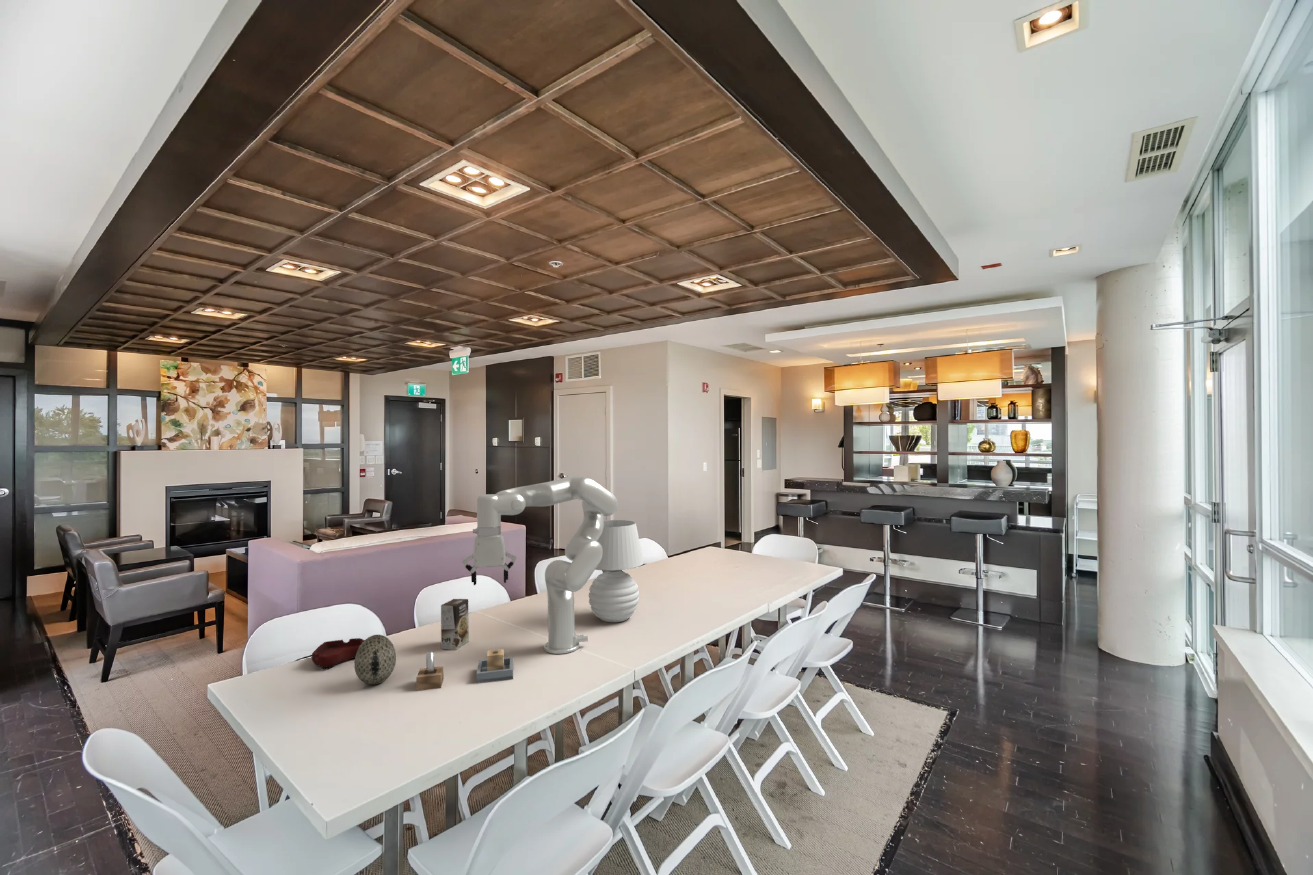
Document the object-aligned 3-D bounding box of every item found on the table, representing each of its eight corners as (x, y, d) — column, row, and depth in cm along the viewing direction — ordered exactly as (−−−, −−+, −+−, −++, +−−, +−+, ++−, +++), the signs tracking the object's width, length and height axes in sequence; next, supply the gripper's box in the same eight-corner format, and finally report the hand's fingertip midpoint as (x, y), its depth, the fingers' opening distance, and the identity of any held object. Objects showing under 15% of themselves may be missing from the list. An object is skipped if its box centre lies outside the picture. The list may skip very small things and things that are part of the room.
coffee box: (456, 650, 208) (456, 605, 208) (440, 649, 209) (439, 604, 209) (469, 641, 217) (469, 598, 217) (454, 640, 218) (453, 597, 218)
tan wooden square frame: (443, 678, 183) (443, 666, 183) (440, 687, 176) (440, 674, 176) (420, 681, 182) (420, 668, 182) (416, 690, 175) (416, 677, 175)
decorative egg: (356, 679, 184) (355, 632, 184) (396, 672, 188) (395, 627, 188) (353, 694, 173) (352, 644, 173) (395, 686, 178) (394, 638, 178)
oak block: (504, 667, 189) (503, 648, 189) (503, 673, 184) (503, 654, 184) (488, 668, 188) (487, 650, 188) (487, 674, 183) (486, 655, 183)
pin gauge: (434, 682, 180) (434, 650, 180) (433, 685, 178) (433, 653, 178) (427, 683, 180) (426, 651, 180) (426, 686, 178) (425, 654, 178)
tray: (513, 665, 193) (513, 656, 193) (513, 679, 182) (512, 669, 182) (479, 669, 190) (478, 660, 190) (476, 683, 179) (476, 673, 179)
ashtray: (349, 647, 213) (349, 633, 213) (375, 655, 205) (375, 641, 205) (298, 663, 198) (298, 649, 198) (324, 673, 190) (324, 658, 190)
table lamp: (611, 606, 259) (609, 517, 259) (656, 615, 244) (654, 521, 244) (571, 621, 238) (569, 525, 238) (618, 632, 223) (616, 530, 223)
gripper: (460, 535, 185) (461, 588, 185) (515, 532, 189) (516, 583, 189) (462, 531, 193) (463, 582, 193) (516, 528, 197) (516, 578, 197)
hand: (490, 583), depth 191 cm, fingers open, 9 cm apart
